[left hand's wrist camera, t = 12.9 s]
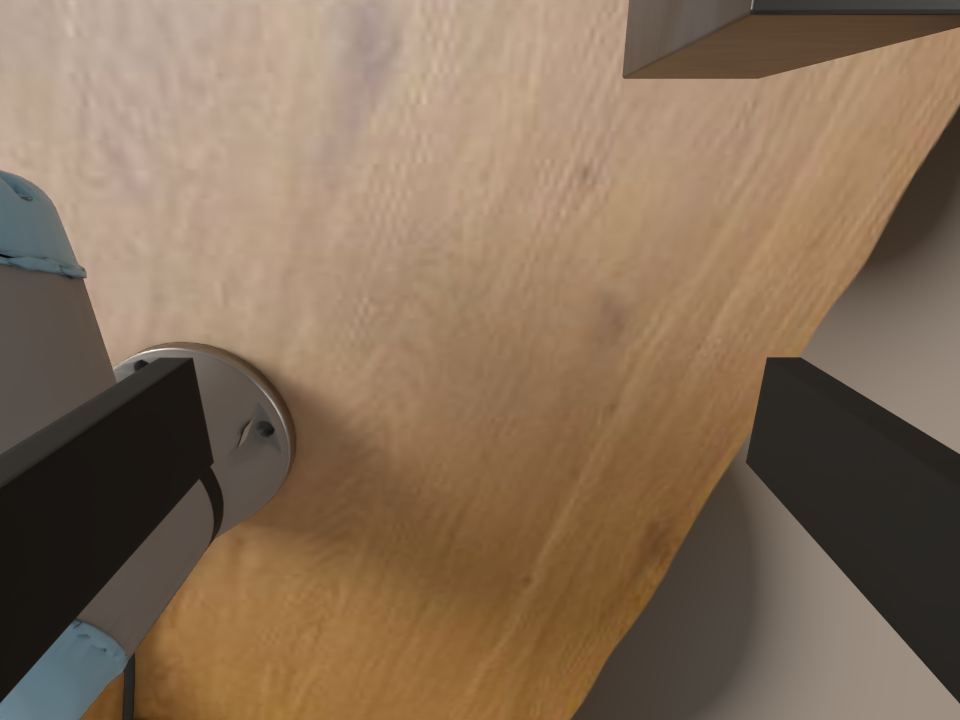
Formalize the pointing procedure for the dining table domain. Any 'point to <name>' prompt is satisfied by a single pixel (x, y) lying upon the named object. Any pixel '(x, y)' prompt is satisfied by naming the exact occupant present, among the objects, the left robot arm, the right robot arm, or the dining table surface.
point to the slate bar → (768, 34)
